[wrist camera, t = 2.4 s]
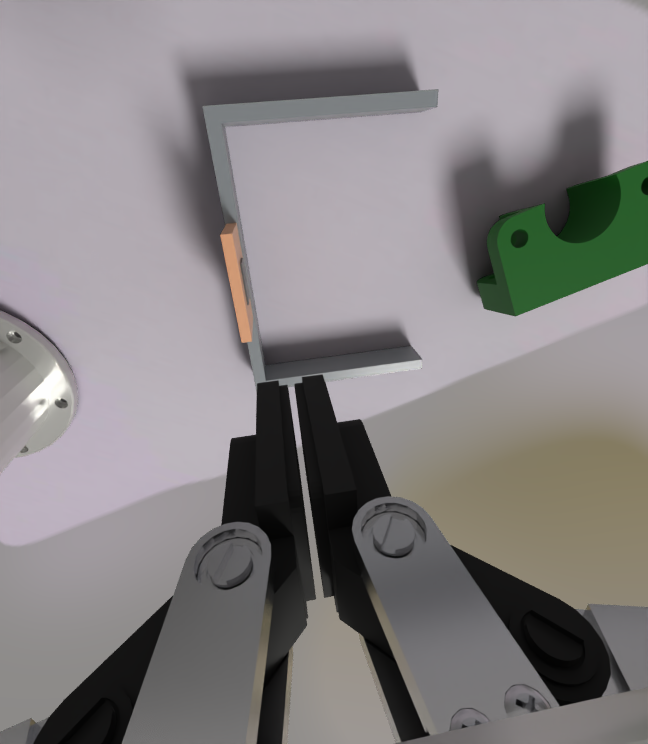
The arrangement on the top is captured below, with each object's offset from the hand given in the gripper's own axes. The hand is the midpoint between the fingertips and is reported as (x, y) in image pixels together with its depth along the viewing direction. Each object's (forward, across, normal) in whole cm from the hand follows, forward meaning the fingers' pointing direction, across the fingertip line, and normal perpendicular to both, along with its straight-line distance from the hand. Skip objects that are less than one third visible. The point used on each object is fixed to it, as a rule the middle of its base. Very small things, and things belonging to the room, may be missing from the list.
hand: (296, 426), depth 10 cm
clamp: (+20, -20, 0) cm, 28 cm away
